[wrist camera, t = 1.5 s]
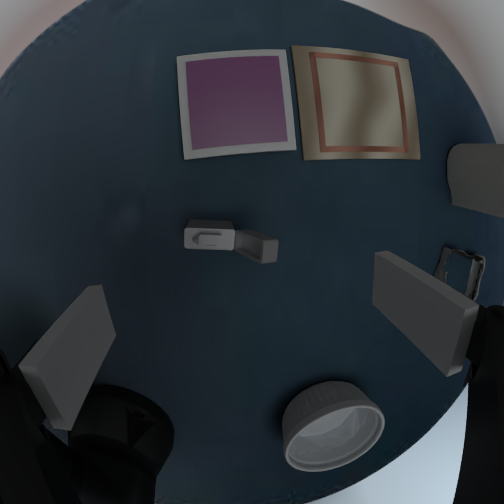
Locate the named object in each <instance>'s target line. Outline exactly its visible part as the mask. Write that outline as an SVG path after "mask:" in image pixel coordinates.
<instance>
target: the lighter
mask: <svg viewBox="0 0 504 504" xmlns="http://www.w3.org/2000/svg"><path fill="white" fill-rule="evenodd" d="M184 247H185V248H187V249H214V250H233V249H234V250H235V251H236V252H238V253H240V254H242V255H244V256H246V257H248V258H250V259H252V260H254V261H256V262H258V263H260V264H264V263H272V262H276V261H277V253H278V240H277V239H275V238H272V237H269V236H266V235H264V234H261V233H258V232H256V231H253V230H250V229H248V230H236V231H235V230H234V227H233V224H232V222H231V221H220V220H195V219H191V220H190V221H189V222H188V224H187V226H186V228H185V232H184Z"/></svg>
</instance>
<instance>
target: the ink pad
mask: <svg viewBox="0 0 504 504" xmlns="http://www.w3.org/2000/svg"><path fill="white" fill-rule="evenodd" d="M177 71H178V88H179V103H180V116H181V129H182V140H183V151H184V160H193V159H201V158H209V157H218V156H228V155H238V154H249V153H262V152H277V151H293V150H296V140H295V129H294V119H293V109H292V100H291V91H290V82H289V73H288V65H287V57H286V50H239V51H223V52H212V53H202V54H193V55H185V56H178V57H177Z"/></svg>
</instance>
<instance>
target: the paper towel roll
mask: <svg viewBox="0 0 504 504" xmlns="http://www.w3.org/2000/svg"><path fill="white" fill-rule="evenodd" d="M447 180H448V184H449V187H450V190H451V196H452V205H456V206H460V207H464V208H468V209H472V210H476V211H480V212H484V213H487V214H491V215H495V216H498V217H502V218H504V144H458V145H455V146H453V148H452V149H451V150H450V152H449V155H448V158H447Z"/></svg>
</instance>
